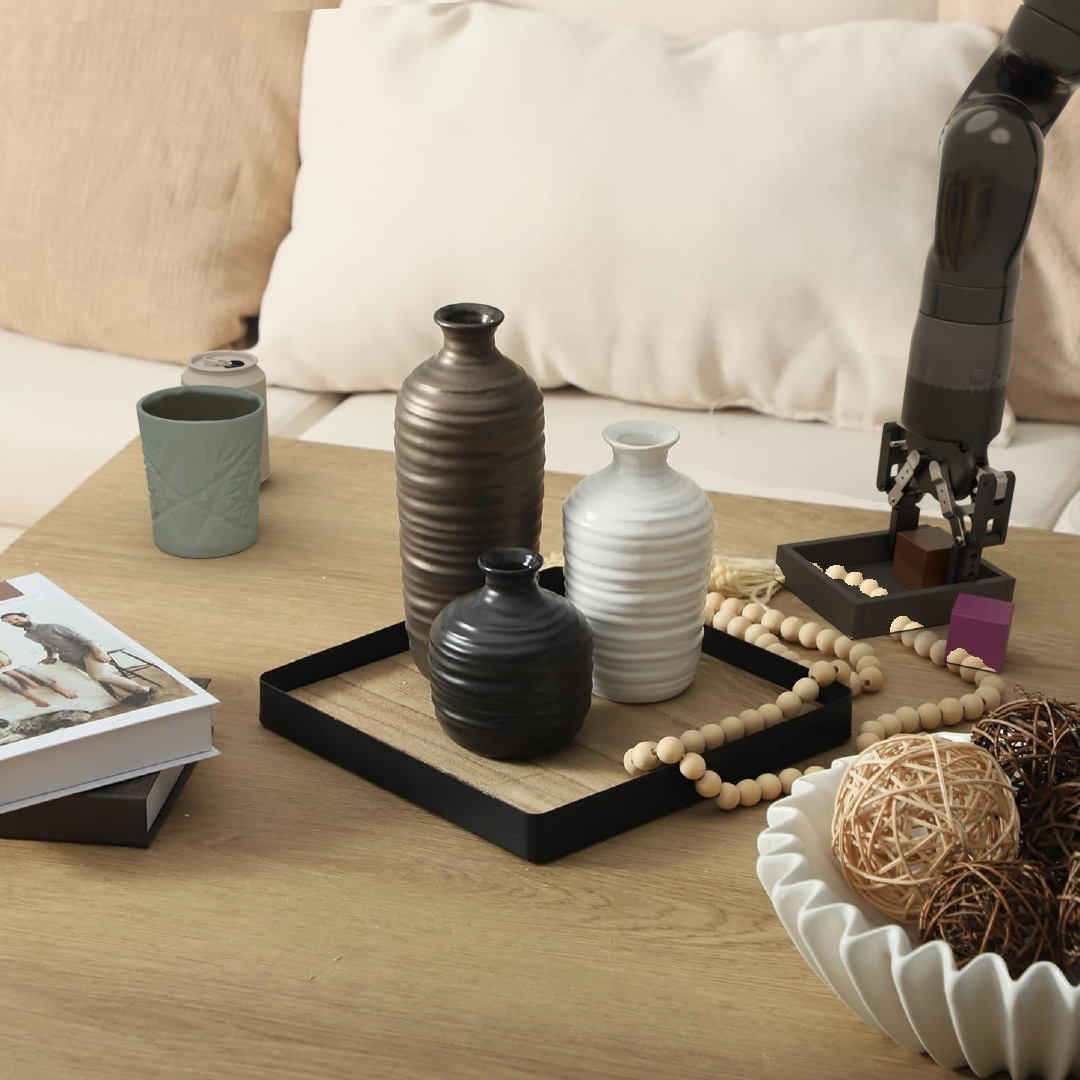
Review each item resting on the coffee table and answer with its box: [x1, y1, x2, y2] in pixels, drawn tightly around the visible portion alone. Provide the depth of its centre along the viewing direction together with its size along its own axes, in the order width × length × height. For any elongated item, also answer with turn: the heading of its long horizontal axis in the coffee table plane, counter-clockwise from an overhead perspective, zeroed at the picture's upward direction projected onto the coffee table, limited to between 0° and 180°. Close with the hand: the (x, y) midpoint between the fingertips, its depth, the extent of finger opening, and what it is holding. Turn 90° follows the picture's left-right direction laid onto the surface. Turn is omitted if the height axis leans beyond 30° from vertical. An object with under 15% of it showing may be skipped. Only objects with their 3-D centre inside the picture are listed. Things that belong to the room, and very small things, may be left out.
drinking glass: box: [135, 385, 265, 559], centre depth 122 cm, size 10×10×12 cm
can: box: [180, 349, 271, 486], centre depth 133 cm, size 8×8×12 cm
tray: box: [774, 523, 1017, 641], centre depth 117 cm, size 15×12×3 cm
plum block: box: [943, 593, 1016, 674], centre depth 108 cm, size 4×4×4 cm
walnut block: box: [891, 526, 955, 591], centre depth 118 cm, size 4×4×4 cm
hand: (929, 567), depth 118 cm, fingers open, 7 cm apart
